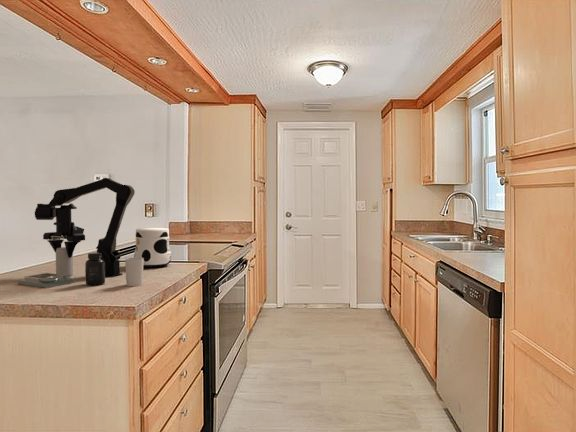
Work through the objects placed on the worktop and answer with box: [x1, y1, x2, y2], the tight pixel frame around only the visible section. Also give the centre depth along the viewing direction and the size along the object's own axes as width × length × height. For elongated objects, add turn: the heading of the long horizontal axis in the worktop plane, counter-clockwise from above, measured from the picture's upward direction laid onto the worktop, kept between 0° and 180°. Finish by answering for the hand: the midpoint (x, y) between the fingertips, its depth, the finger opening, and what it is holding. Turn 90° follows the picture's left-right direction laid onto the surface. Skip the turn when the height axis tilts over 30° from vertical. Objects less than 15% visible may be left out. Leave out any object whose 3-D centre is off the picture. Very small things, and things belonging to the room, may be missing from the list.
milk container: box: [133, 227, 172, 268], centre depth 207 cm, size 17×17×18 cm
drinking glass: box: [124, 256, 144, 287], centre depth 163 cm, size 7×7×10 cm
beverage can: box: [55, 246, 74, 278], centre depth 179 cm, size 6×6×12 cm
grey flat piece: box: [17, 272, 76, 289], centre depth 165 cm, size 16×12×3 cm
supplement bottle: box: [84, 251, 106, 287], centre depth 163 cm, size 7×7×12 cm
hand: (64, 257), depth 179 cm, fingers open, 6 cm apart
